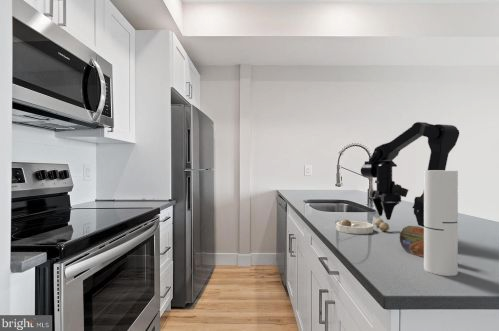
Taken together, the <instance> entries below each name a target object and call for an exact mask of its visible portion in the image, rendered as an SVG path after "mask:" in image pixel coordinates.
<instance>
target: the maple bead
mask: <svg viewBox="0 0 499 331" xmlns="http://www.w3.org/2000/svg"><path fill="white" fill-rule="evenodd" d="M382 222H384V219H382V218H380V217H379V218H376V219H375V220H374V225H375V226H376V227H379V225H380V224H381V223H382Z"/></svg>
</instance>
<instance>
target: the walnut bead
mask: <svg viewBox="0 0 499 331" xmlns="http://www.w3.org/2000/svg"><path fill="white" fill-rule="evenodd" d="M342 221H343V222H342V225H343V226H349V227H351V222H350V221H351V220H348V219H344V220H342Z"/></svg>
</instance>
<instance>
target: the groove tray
mask: <svg viewBox="0 0 499 331" xmlns="http://www.w3.org/2000/svg"><path fill="white" fill-rule="evenodd" d="M343 221H344V220H342V221H337V222H336V223H335V230H336V231H338V232H341V233H345V234H353V235H369V234H373V233H374V224H372V223H370V222H366V221H358V220H349V221H350V222H351V227H349V226H343V225H342V222H343Z"/></svg>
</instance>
